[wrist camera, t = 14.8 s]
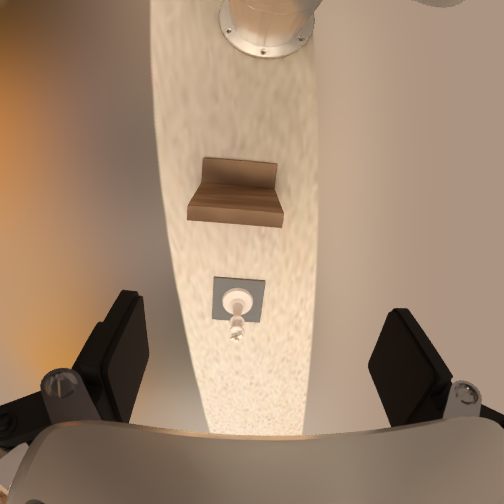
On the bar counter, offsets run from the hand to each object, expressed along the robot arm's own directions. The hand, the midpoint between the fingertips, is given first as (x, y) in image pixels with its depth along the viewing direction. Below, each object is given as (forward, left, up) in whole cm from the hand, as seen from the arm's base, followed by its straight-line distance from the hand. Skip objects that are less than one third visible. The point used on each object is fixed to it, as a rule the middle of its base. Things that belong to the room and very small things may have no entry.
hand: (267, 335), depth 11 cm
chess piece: (+21, 0, -34) cm, 40 cm away
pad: (+21, 0, -34) cm, 40 cm away
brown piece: (+1, -2, -34) cm, 34 cm away
